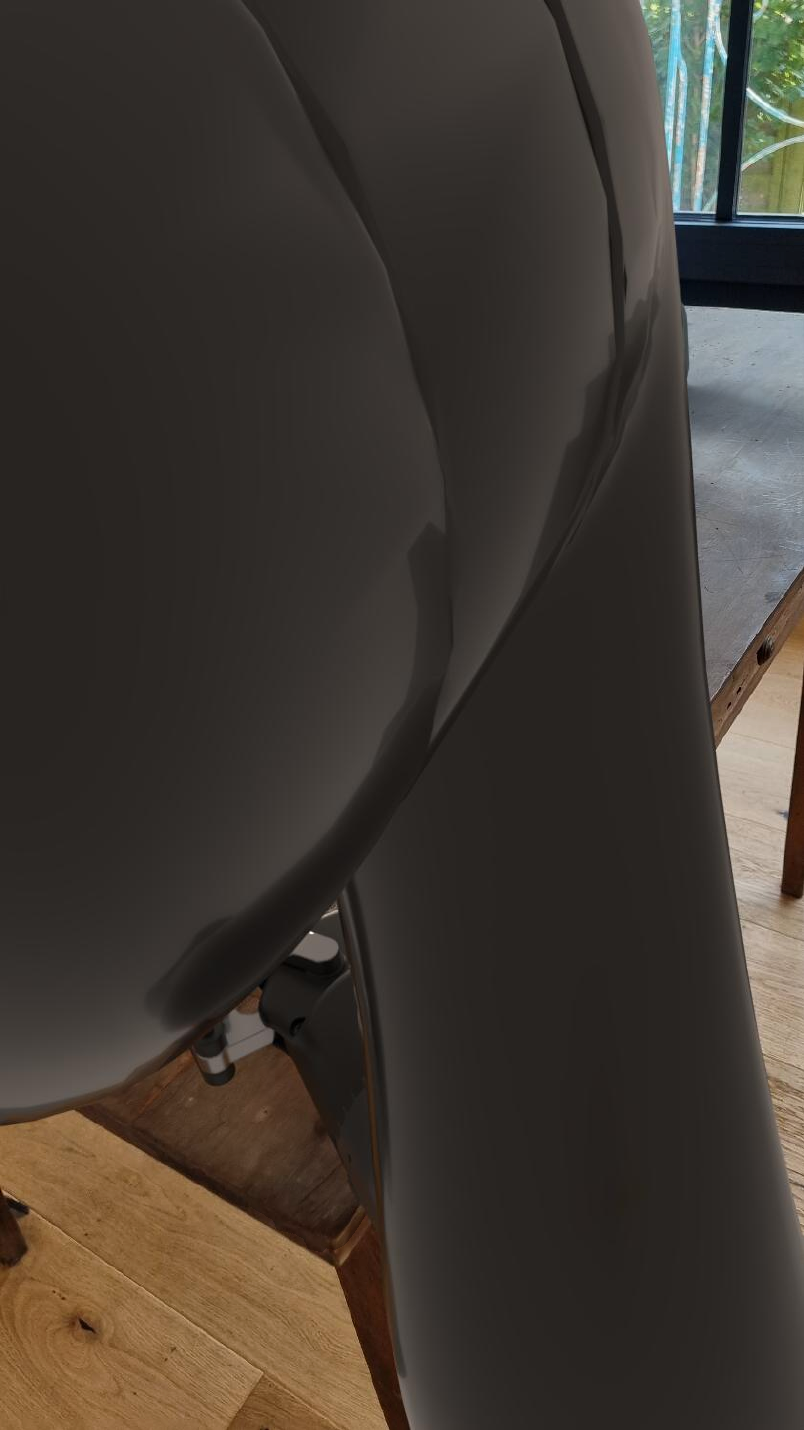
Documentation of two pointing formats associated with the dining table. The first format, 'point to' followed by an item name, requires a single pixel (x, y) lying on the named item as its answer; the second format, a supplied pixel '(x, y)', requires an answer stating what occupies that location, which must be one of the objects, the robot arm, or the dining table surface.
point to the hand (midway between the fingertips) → (280, 837)
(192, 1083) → the dining table surface
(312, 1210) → the dining table surface
